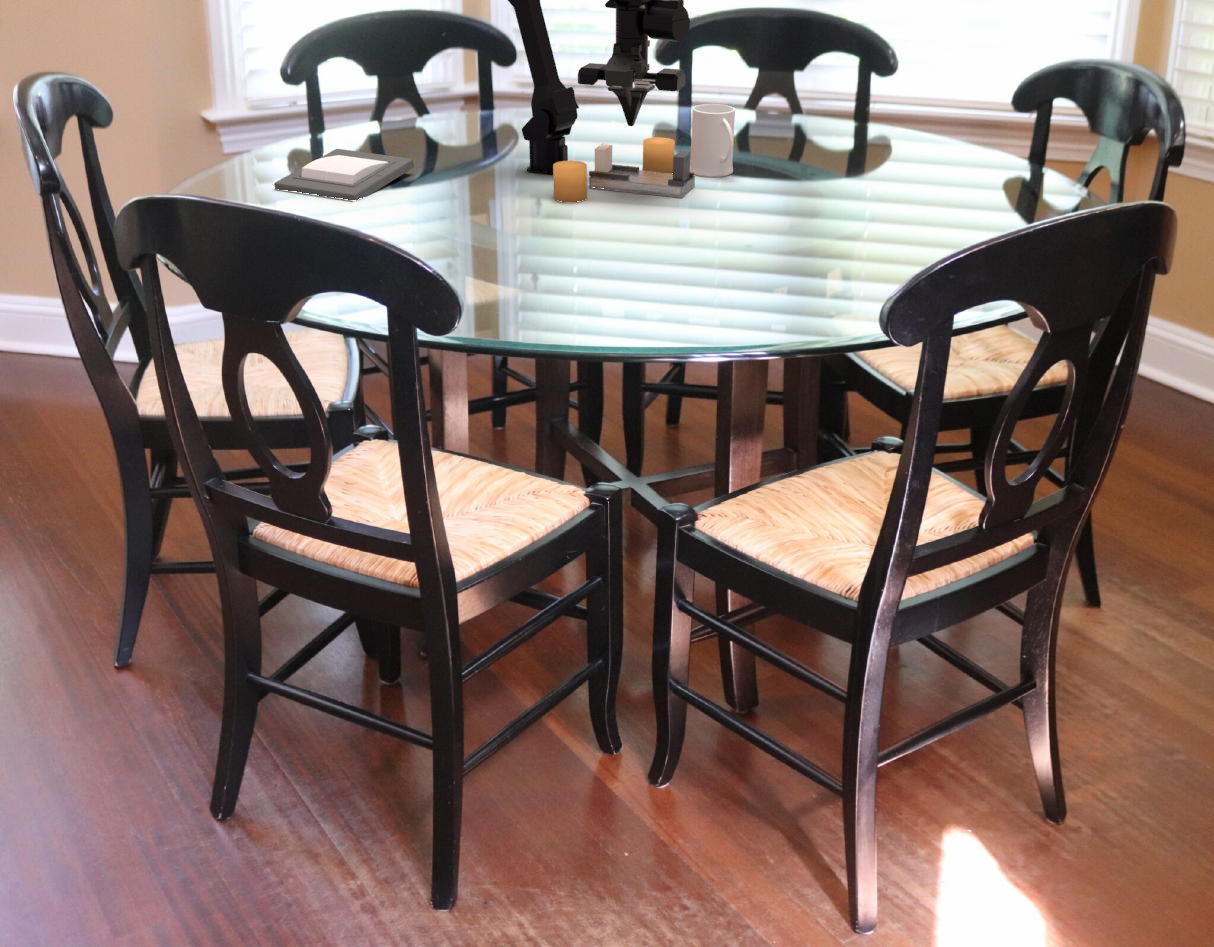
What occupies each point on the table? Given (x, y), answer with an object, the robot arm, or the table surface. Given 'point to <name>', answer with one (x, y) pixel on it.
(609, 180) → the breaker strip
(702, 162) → the mug
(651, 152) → the orange short rounded piece
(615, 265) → the table surface
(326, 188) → the light switch
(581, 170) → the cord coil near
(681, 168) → the toggle black
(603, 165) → the beige cardboard box
